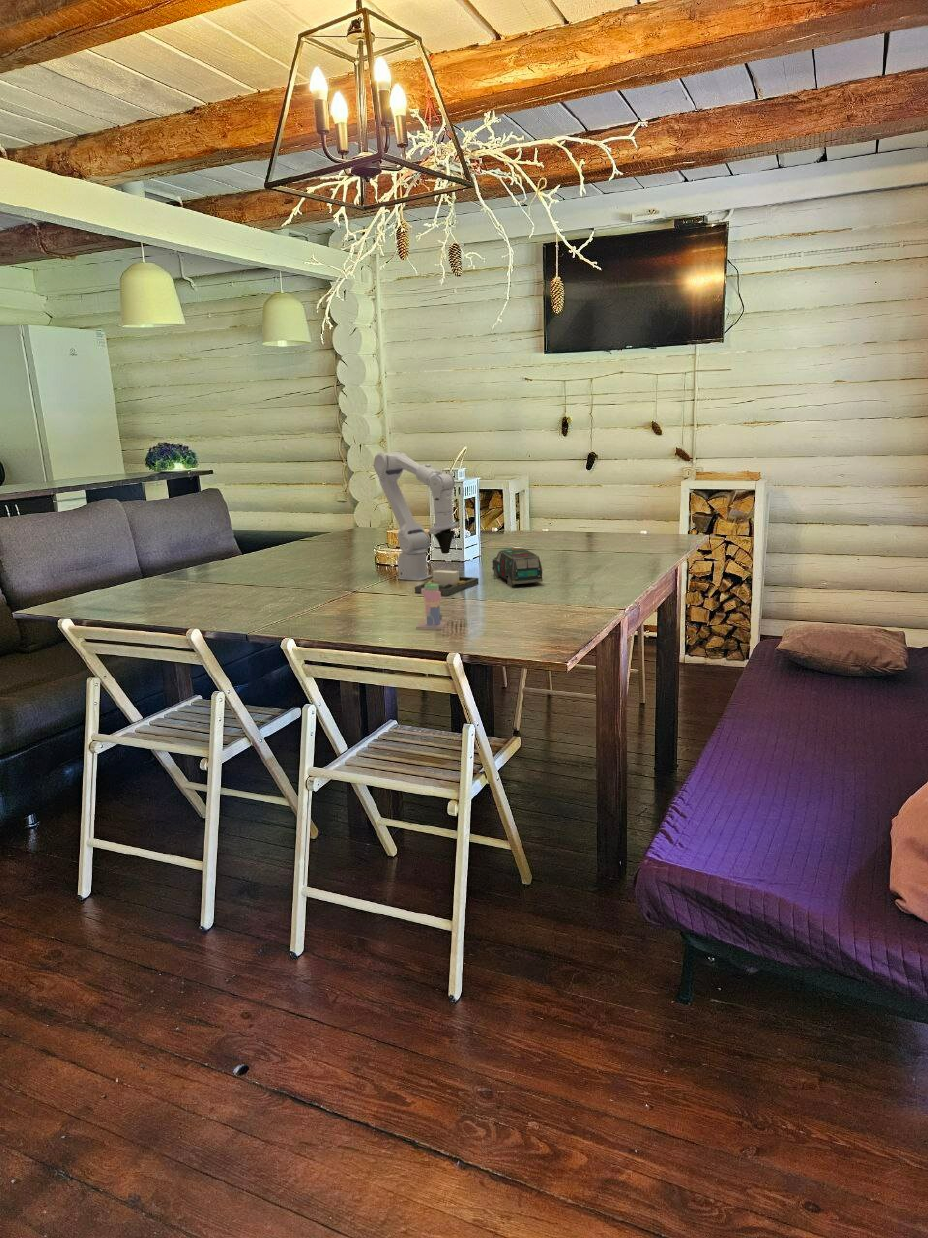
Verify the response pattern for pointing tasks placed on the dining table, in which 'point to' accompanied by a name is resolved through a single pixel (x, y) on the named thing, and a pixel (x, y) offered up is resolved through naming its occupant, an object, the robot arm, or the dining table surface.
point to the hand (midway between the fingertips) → (445, 553)
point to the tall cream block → (446, 576)
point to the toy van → (518, 566)
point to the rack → (451, 586)
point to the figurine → (432, 608)
